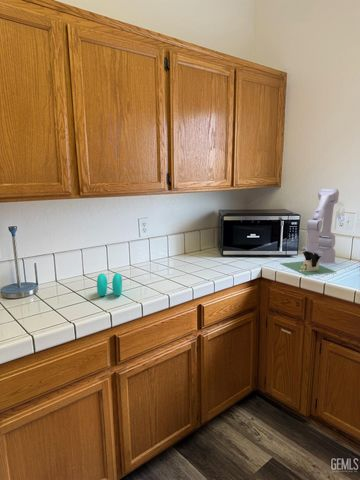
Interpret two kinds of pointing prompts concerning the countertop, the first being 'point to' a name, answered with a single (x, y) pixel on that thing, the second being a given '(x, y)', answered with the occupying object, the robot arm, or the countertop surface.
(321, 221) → the robot arm
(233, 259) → the countertop surface
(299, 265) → the header board
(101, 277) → the donuts
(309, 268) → the beige u-shaped channel block
